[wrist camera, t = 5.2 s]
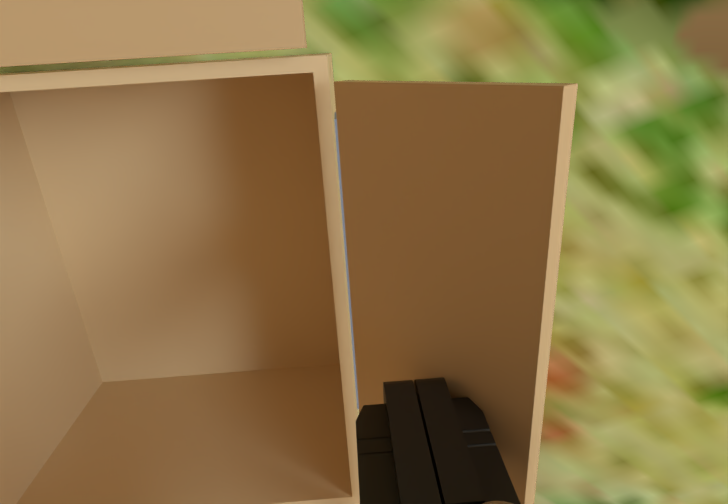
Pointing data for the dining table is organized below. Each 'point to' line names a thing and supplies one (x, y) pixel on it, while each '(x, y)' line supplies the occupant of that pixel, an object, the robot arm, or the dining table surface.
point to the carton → (172, 260)
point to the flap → (457, 243)
